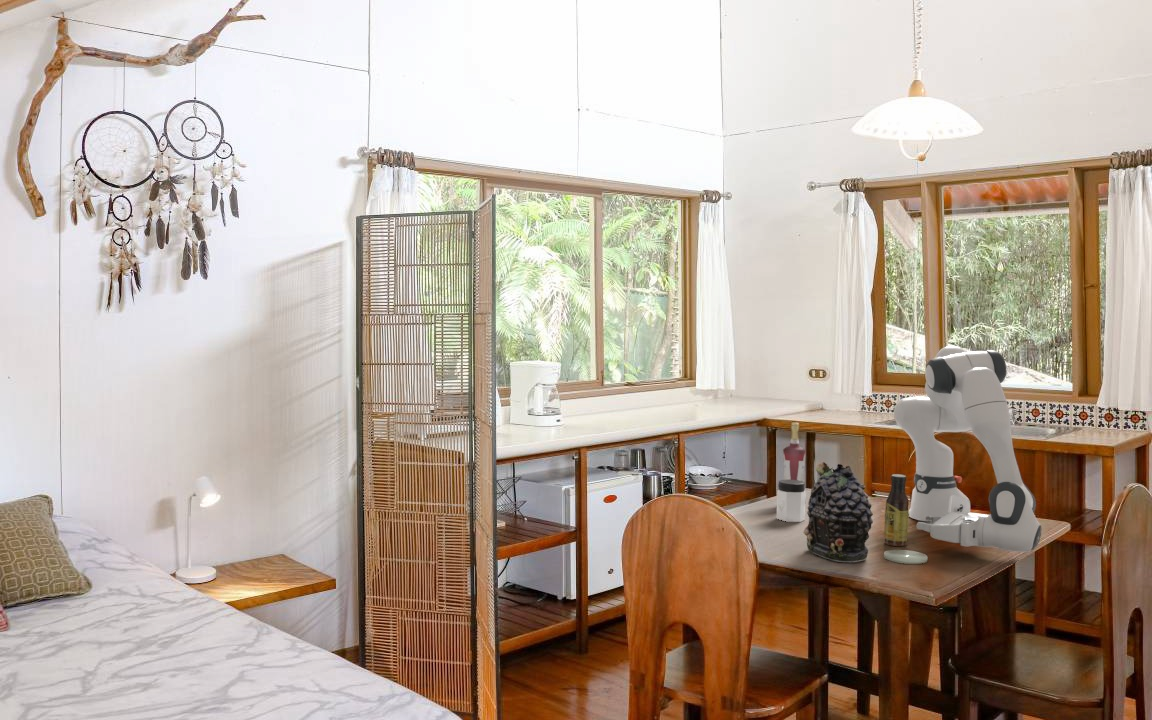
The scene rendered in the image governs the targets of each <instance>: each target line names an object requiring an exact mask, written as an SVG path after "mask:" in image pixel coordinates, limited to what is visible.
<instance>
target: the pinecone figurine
mask: <svg viewBox="0 0 1152 720" xmlns="http://www.w3.org/2000/svg"><path fill="white" fill-rule="evenodd" d="M815 471H816V482H814V484H813V487H812V488H811V489H810V496H809V499H808V506H807V511H806V514H807V515H808V524H807V526H806V527H805V528H804V530H803V531H802V533H803V534H804V535H805V536H806V547H807V550H808V551H809V552H810V553H812V554H815V555H818V556H819V557H821V558H823V559H828V560H830V561H834V562H837V563H857V562H862V561H866V560H867V557H868V553H869V549H868V547H867V546H866V542H867V540H869V538H870V535H869V531H870V530H871V529H872V524H873V523H874V520H873V519H872V517H873V515H874V513H873V511H872V510H871V509H872V503H871V502H870V501H869V495H868V494H867V493H866V492H865V489H866V485H864V484H862V483H861V482H860V481H859V479H858V478H857V477H856V476H855V474H854V472H852V468H851V467H850V466H849V465H847V466H845V467H844V465H843V464H842V463H840V464H839V463H838V464H837V467H836V468H835V469H834V468H833V467H832V468H830V466H829V465H828V464H827V463H826V462H824V461H821V462H819V463H818V464H816V466H815Z"/></svg>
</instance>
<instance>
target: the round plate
mask: <svg viewBox="0 0 1152 720" xmlns="http://www.w3.org/2000/svg"><path fill="white" fill-rule="evenodd" d="M883 558H884V559H885V560H887V561H889V562H893V563H897V564H903V563H904V564H903V565H922V563H923V564H926V563H928V555H926V554H925V553H923V552H919V551H914V550H908V549H907V550H906V549H889V550H885V551H884V553H883ZM925 562H926V563H925Z"/></svg>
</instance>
